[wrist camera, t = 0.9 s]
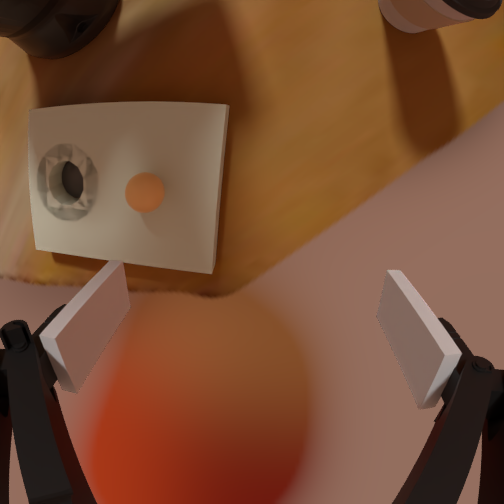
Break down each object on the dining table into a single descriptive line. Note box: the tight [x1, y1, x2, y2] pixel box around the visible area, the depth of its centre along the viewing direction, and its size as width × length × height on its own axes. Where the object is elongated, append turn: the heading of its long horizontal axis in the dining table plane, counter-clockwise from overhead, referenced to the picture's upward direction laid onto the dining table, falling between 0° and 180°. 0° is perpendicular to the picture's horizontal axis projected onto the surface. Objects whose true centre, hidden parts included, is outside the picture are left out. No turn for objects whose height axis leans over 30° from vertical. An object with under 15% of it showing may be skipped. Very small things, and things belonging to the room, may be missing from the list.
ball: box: [125, 172, 165, 213], centre depth 30 cm, size 4×4×4 cm
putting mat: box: [28, 101, 230, 274], centre depth 33 cm, size 18×24×3 cm
